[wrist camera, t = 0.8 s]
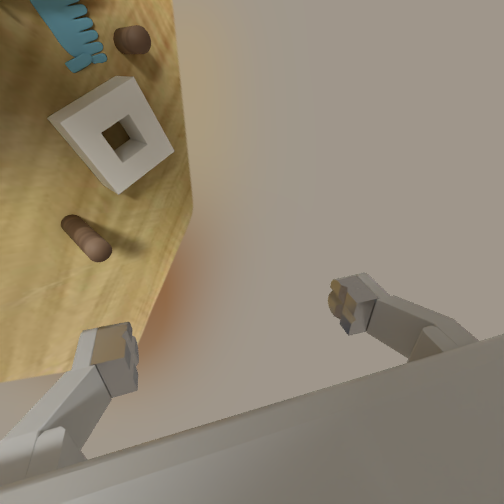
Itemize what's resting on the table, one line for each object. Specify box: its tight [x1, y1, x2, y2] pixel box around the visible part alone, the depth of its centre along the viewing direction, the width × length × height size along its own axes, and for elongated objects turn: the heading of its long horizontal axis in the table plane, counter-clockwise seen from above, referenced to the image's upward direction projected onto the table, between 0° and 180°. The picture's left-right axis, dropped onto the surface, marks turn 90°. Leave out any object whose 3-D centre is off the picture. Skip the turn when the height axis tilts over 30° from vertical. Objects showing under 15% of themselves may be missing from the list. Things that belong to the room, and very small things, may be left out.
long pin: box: [61, 215, 112, 262], centre depth 44 cm, size 3×3×12 cm
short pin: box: [113, 25, 151, 54], centre depth 42 cm, size 3×3×5 cm
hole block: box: [47, 76, 174, 195], centre depth 45 cm, size 12×12×6 cm
